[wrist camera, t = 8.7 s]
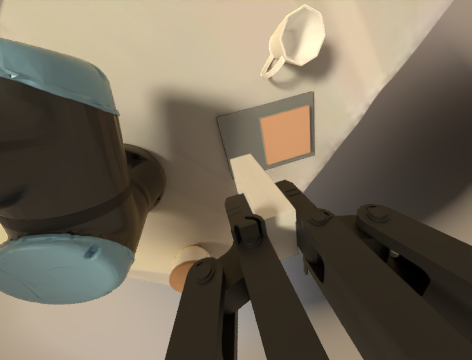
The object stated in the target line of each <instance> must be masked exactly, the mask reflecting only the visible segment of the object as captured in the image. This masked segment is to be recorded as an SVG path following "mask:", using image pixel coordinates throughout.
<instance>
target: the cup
mask: <svg viewBox="0 0 472 360" xmlns="http://www.w3.org/2000/svg"><path fill="white" fill-rule="evenodd" d="M325 36H326V33H325V28H324V23H323V18H322V13H320V12H319V11H317V10H315V9H313V8H311V7H310V6H308V5H306V4H304V5H303V6H301V7H300V8H298V9H296V10H295V11H293V12H292V13H290V14H288V15H287V16H286V17H285V18H284V20H283V21H282V22H281V24H280V25H279V26H278V27H277V28H276V30H275V32H274V34H273V35H272V36H271V39H270V42H269V46H268V48H269V51H270V54H271V55H270V56H269V58H268V59H267V61H266V63H265V65H264V67H263V69H262V71H261V74H260V75H261V77H262V78H263V79H267V78H269V77H271V76H272V75H274V74H275V73H276V72H277V71H278V70H279V69H280V67H281V66H282V65H283V64H284V62H286V63H290V64H294V65H298V66H302V65H304V64H306V63H307V62H309V61H310V60H312V59H314V58H315V57H317V56H318V53H319V51H320V48H321V46H322V43H323V41H324V39H325ZM274 58H275V59H278V60H279V61H278V62H277V63H276V65H275V66H274V67H273V68H272V69H271V70H270V71H269V72H267V73H266V71H267V69H268V67H269V65H270V63H271V62H272V60H273V59H274Z"/></svg>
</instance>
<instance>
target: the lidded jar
mask: <svg viewBox="0 0 472 360" xmlns="http://www.w3.org/2000/svg"><path fill="white" fill-rule="evenodd" d="M206 257H210V255H209V253H208V252H207V251H206V250H204V249H203V248H201V247H199V246H188V247H186V248H185V249H183V250H182V251H181V252H179V253H178V254H177V256H176V257H175V259H174V261H173V264H172V267H171V273H170V278H169V283H170V285H171V287H172V288H173V289H175V290H176V291H178V292H182V291H183V288H184V284H185V280H186V276H187V273H188V271H189V269H190V268H191V267H192V265H193V264H194V263H195V262H197V261H198V260H200V259H203V258H206Z"/></svg>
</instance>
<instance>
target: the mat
mask: <svg viewBox="0 0 472 360" xmlns="http://www.w3.org/2000/svg"><path fill="white" fill-rule="evenodd" d="M301 105H309V115H310V153H306V154H303V155H300V156H296V157H293V158H290V159H286V160H283V161H280V162H276V163H273V164H270V165H267V163H266V162H265V158H264V151H263V145H262V139H261V132H260V126H259V120H258V117H262V116H265V115H269V114H273V113H276V112H280V111H283V110H287V109H290V108H294V107H298V106H301ZM217 122H218V126H219V130H220V133H221V137H222V141H223V144H224V148H225V152H226V156H227V159H228V163H229V167H230V171H231V174H232V178H233V180H234V175H233V171H232V167H231V163H230V159H233V158H237V157H240V156H244V155H247V154H251V155H252V156H253V158H254V159H255V160H256V161H257V163H258V164H259V165H260V166H261V167H262V169H263V170H267V169H270V168H273V167H277V166H280V165H283V164H287V163H290V162H293V161H296V160H300V159H303V158H306V157H310V156H313V155H314V117H313V92H312V91H311V92H308V93H304V94H300V95H297V96H293V97H290V98H286V99H282V100H279V101H275V102H271V103H268V104H264V105H261V106H257V107H253V108H250V109H246V110H242V111H239V112H235V113H232V114H228V115H224V116H221V117H217Z"/></svg>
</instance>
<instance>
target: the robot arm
mask: <svg viewBox="0 0 472 360" xmlns="http://www.w3.org/2000/svg"><path fill="white" fill-rule="evenodd" d="M118 116H120V114H119V112H118V110H116V107H115V103H114V99H113V95H112V91H111V87H110V83H109V81H108V79H107V77H106V75H105V74H104V73H103V72H102V71H101V70H100V69H99V68H97V67H96V66H94V65H93V64H91V63H89V62H86V61H84V60H81V59H78V58H75V57H72V56H69V55H66V54H62V53H58V52H55V51H51V50H48V49H44V48H40V47H36V46H32V45H28V44H24V43H20V42H16V41H12V40H8V39H3V38H0V223H1V225H2V226H3V228H4V229H5V231H6V233H7V235H8V240H7V241H6V242H4V243H2V244H1V245H0V291H1V292H3V293H6V294H7V295H10V296H13V297H15V298H18V299H22V300H25V301H30V302H37V303H43V304H75V303H82V302H87V301H91V300H94V299H97V298H100V297H103V296H105V295H107V294H109V293H110V292H112V291H113V290H114V289H116V288H117V287H119V286H120V285H121V284H122V282H123V281H124V279H125V278H126V276H127V274H128V271H129V269H130V267H131V265H132V264H133V262H134V260H135V259H134V257H135V252H136V249H137V246H138V243H139V240H140V236H141V233H142V230H143V227H144V224H145V220H146V217H147V214H148V213H149V212H150V211H151V210H152V209H153V208H154V207H155V206H156V205H157V204H158V203H159V201H160V200H161V198H162V196H163V194H164V190H165V185H166V178H165V173H164V170H163V168H162V166H161V165H160V163H159V162H158V161H157V160H156V159H155V158H154V157H153V156H152V155H151V154H149V153H148V152H146V151H145V150H143V149H141V148H139V147H136V146H133V145H128V144H123V139H122V133H121V128H120V123H119V118H118ZM230 163H231V167H232V171H233V175H234V179H235V183H236V187H237V191H238V194H239V195H235V196H232V197H229V198H227V199H226V202H225V208H226V211H227V215H228V219H229V222H230V226H231V233H232V236H233V239H234V241H233V245H232V247H231V248H230V250H229V251H228V252H227V253H226V254H224V255H223V256H221V257H220V258H218V259H215V258H213V257H206V258H203V259H200V260H198V261H197V262H195V263H194V264H193V265H192V267H191V268H190V269H189V271H188V273H187V276H186V280H185V284H184V288H183V291H182V296H181V300H180V303H179V307H178V311H177V315H176V318H175V322H174V326H173V330H172V334H171V337H170V341H169V345H168V349H167V353H166V357H165V360H237V338H238V336H237V334H238V309H239V308H241V307H242V306H243V305H244V304H246V303H247V302H248V301H249V300H251V303H252V307H253V310H254V314H255V318H256V322H257V325H258V329H259V332H260V336H261V340H262V343H263V347H264V350H265V354H266V358H267V360H329V358H328V356H327V354H326V352H325V350H324V348H323V346H322V344H321V342H320V340H319V338H318V336H317V334H316V332H315V330H314V328H313V326H312V324H311V322H310V320H309V318H308V316H307V314H306V312H305V310H304V308H303V306H302V304H301V302H300V300H299V298H298V296H297V294H296V292H295V290H294V288H293V286H292V284H291V282H290V280H289V278H288V276H287V274H286V272H285V270H284V268H283V266H282V264H281V262H280V260H283V259H286V258H288V257H291V256H294V255H297V254H298V247H299V249H300V250H301V252H302V253H303V262H304V272H305V275H307V274H308V270H309V272H310V273H311V275H312V276H313V278H314V280H315V281H316V283H317V284H318V286H319V288H320V289H321V291H322V293H323V294H324V296H325V298H326V299H327V301H328V302H329V304H330V306H331V307H332V309H333V310H334V312H335V314H336V315H337V317H338V318H339V320H340V322H341V324H342V325H343V327H344V328H345V330H346V332H347V333H348V335H349V336H350V338H351V340H352V341H353V343H354V344H355V346H356V348H357V350H358V351H359V353H360V354H361V356H362V358H363V359H364V360H472V246H471V245H469V244H466V243H464V242H462V241H460V240H458V239H456V238H453V237H451V236H449V235H447V234H445V233H442V232H440V231H438V230H436V229H434V228H432V227H429V226H427V225H425V224H423V223H421V222H418V221H416V220H414V219H412V218H410V217H408V216H405V215H403V214H401V213H399V212H397V211H395V210H392V209H390V208H388V207H385V206H382V205H376V204H368V205H363V206H361V207H360V208H359V209H358V210H357V215H349V216H348V215H347V216H335V215H334V214H332V213H331V212H330V211H327V210H325V209H319V208H317V207H316V206H315V205H314V204H313V203H312V202H311V201H310V200H309V199H308V198H307V197H306V196H305V195H304V194H303V193H302V192H301V191H300V190H299V189H298V188H297V187H296V186H295V185H294V184H293V183H291V182H289V181H287V180H283V181H280V182H276V183H274V182H273V181H272V180H271V179H270V177H269V176H268V175H267V174H266V172H265V171H264V170H263V169H262V167H261V166H260V165H259V164H258V163H257V161H256V160H255V159H254V158H253V156H252V155H251V154H247V155H244V156H240V157H237V158H233V159H230ZM391 250H393V251H395V252H396V253H398V254H399V255H397V254H394V253H392V252H390V251H391Z"/></svg>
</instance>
